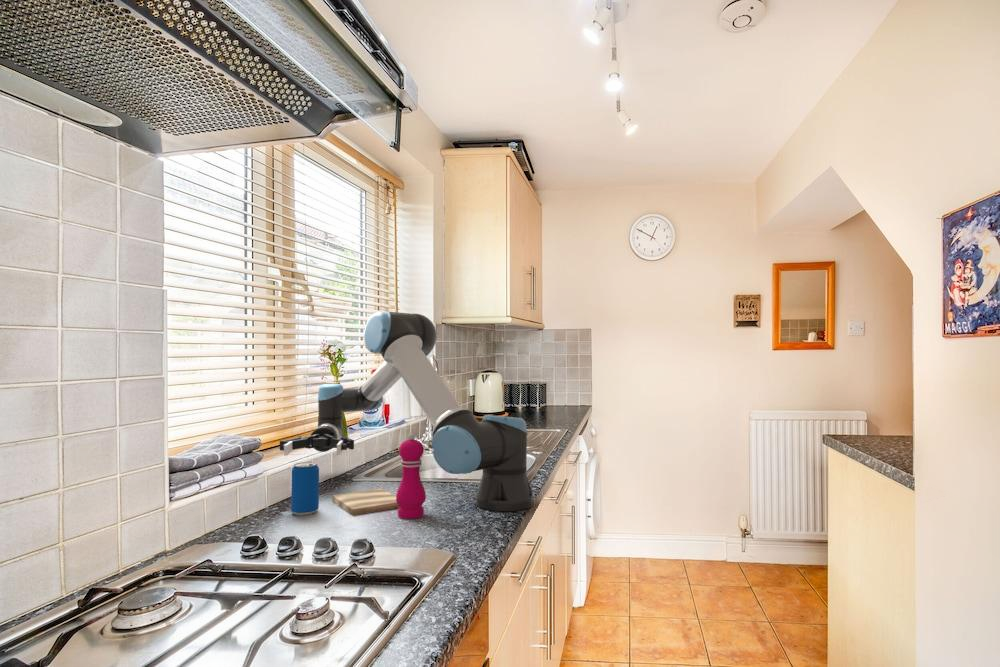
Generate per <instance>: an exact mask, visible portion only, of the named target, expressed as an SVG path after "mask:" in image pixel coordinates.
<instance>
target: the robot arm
mask: <svg viewBox="0 0 1000 667" xmlns="http://www.w3.org/2000/svg"><path fill="white" fill-rule="evenodd" d="M363 337H364V345H365V346H366V349H367V350H368V352H370V353H372V354H380V355H381V357H382V358H383V359H384V361H383V362H382V363H381V364H380V365H379V367H378V368H377V369H375V370H374V372H373V373H372V374H371V375H370V376H369V377H368V378H367V379H366V380H365V381H364V383H363V384H362V385H361V386H360V387H359V388H349V389H348V388H346V389H344V385H342V384H340V383H325V384H321V385H320V386H319V387H318V396H317V399H318V402H317V403H318V407H317V408H318V417H317V427H316V429H314V430H313V431H312V432H311V434H310V435H308V436H305V437H303V436H302V435H299V436H297V437H294V438H289V439H284V440H280V441H279V451H280V452H282V451H283V456H285V457H287V456H288V455H289V454H291V453H292V452H293V450H299V449H314V450H315V451H317V452H319V453H324V452H325V453H326V452H328V451H330V450H332V449H334V448H335V449H336V455H339V456H340V455H341V453H342V452H343V451H346V450H348V449H349V450H351V451H353V450H354V449H355V440H354V439H351V438H349V437H347V436H346V435H344V426H343V413H352V412H364V411H365V412H367V411H374V410H378V409H380V407H381V406H382V403H383V401H384V396H385V395H386V393H387V392H388V391H389V390H390V389H391V388H393V386H394V385H395V384H396V383H397V382H398V381H400V379H403V381H404V383H405V385H406V386H407V388H408V389H409V390H410V392H411V394H412V395H413V397H414V399H415V400H416V402H417V403H418V405H419V407H420V408H421V410H422V411H423V413H424V414H425V415H426V418H427V419H428V420H429V422H430V424H431V426H432V427H433V429H432V431H431V437H432V440H431V448H432V449H433V450H432V455H433V458H434V460H435V462H436V463H437V465H438V466H439V467H440V469H442V470H443V471H445V472H446V473H448V474H452V475H462V474H463V475H464V474H465V475H467V474H470V473H473V472H476V471H480V470H481V471H482V474H481V477H480V478H481V479H480V481H479V484H478V489H477V492H476V496H475V505H476V506H477V507H479V508H480V509H484V510H487V511H491V512H492V511H493V512H494V511H495V512H514V511H515V512H517V511H523V510H526V509H529V508H531V507H533V505H534V493H533V491H532V487H531V484H530V481H529V478H528V474H527V473H528V472H527V471H528V470H527V463H528V462H527V455H528V454H527V453H528V450H527V448H528V446H527V444H528V441H527V436H528V431H527V422H526V421H525V419H524V418H522V417H514V416H513V417H512V416H502V415H501V416H500V415H491V414H490V415H489V414H485V415H483V417H482V420H481V421H479V420H478V419H477V418H476V416H475V415H474V413H473V412H472V410H470V409H469V408H462V405H460V404H459V402H458V401H457V399H456V397H455V396H454V395H453V394H452V392H451V391H450V389H449V387H448V386H447V384H446V383H445V381H444V380H443V379H442V377H441V375H440V374H439V373H438V371H437V370H436V369H435V366H433V364H432V363H431V361H430V360H429V358H428V356H429V355H430V354H431V352H432V351H433V349H434V348H435V345H436V343H437V337H438V336H437V329H436V326H435V325H434V323H433V321H432V320H431V319H429V318H428V317H427V316H425V315H423V314H420V313H410V312H409V313H408V312H407V313H406V312H397V311H396V312H395V311H389V310H388V311H387V310H386V311H377V312H375V313H373V314H371V315H370V317H369V318H368V320H367V321H366V324H365V329H364V334H363Z"/></svg>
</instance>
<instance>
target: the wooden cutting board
mask: <svg viewBox="0 0 1000 667" xmlns="http://www.w3.org/2000/svg"><path fill="white" fill-rule="evenodd" d="M333 501H334V502H335V504H336V505H337V504H338V505H337V506H338V507H340V508H341V507H342V508H341V509H343V510H344V511H346V513H348V514H350V515H351V516H356V515H357V516H358V515H361V514H362V515H363V514H368V513H375V512H382V511H387V510H394V509H398V508H399V507H400V505H399V504H398V503H397V501H396V494H393V493H391V492H390V491H387V490H386V489H384V488H378V489H371V490H370V489H369V490H362V491H356V492H348V493H341V494H339V493H338V494H333V495H332V502H333ZM334 502H333V503H334Z"/></svg>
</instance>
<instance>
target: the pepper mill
mask: <svg viewBox="0 0 1000 667" xmlns="http://www.w3.org/2000/svg"><path fill="white" fill-rule="evenodd" d="M398 454H399V456H400V457H401V460H400V466H401V467H402V477H401V481H400V484H399V486H398V488H397V491H396V494H395V496H396V501H397V503H398V504H399V505H400V507H399V508H397V517H398V518H400V519H403V518H404V520H412V519H414V518H416V519H420V518H422V517H423V516H424V515H425V513H424V512H425V510H424V509H425V507H423V504H424V503H425V502H426V500H427V496H426V494H427V493H426V490H425V488H424V485H423V482H422V480H421V477H420V476H421V474H420V469H421V468H420V467H421V466H422V459H421V458H422V456H423V454H424V446H423V444H422V442H420V441H419V440H417V439H416V435H415V434H414V433H408V435H407V440H404V441H403V442H401V443H400V446H399V447H398ZM419 517H420V518H419Z"/></svg>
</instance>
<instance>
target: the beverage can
mask: <svg viewBox="0 0 1000 667" xmlns="http://www.w3.org/2000/svg"><path fill="white" fill-rule="evenodd" d="M319 491H320V468H319V466H318V462H315V461H302V462H301V461H300V462H296V463H294V464H293V467H292V469H291V490H290V495H291V496H290V501H291V502H290V506H291V507H290V511H291V513H293V514H294V515H296V516H308V514H309V515H312V513H313V514H315V513H316V512H317V511H318V510H319V509H320V507H319V505H320V504H319V503H320V502H319V501H320V500H319V498H320V495H319V494H320V492H319ZM314 512H315V513H314Z"/></svg>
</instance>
